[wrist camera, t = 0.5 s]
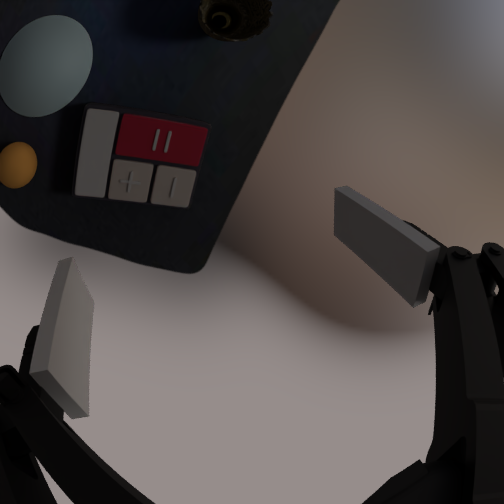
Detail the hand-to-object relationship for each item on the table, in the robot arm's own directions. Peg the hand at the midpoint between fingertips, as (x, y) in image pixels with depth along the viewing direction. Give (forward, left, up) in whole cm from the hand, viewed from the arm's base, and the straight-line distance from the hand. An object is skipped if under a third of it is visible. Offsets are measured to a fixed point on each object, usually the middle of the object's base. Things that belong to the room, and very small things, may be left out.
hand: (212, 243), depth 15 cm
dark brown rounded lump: (-16, +4, -27) cm, 31 cm away
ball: (+2, -19, -24) cm, 30 cm away
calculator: (+2, -3, -27) cm, 27 cm away
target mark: (-10, -17, -27) cm, 33 cm away
